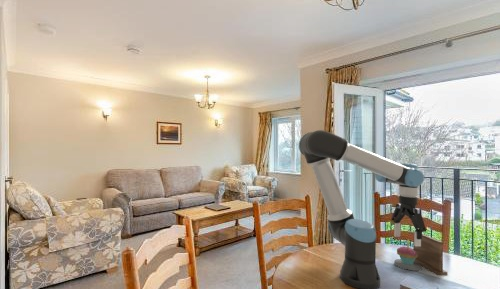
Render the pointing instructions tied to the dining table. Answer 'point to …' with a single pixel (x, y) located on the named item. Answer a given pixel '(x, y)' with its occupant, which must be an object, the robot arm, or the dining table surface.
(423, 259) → the screen
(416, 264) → the plate
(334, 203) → the robot arm
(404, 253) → the cupcake
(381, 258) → the dining table surface
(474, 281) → the dining table surface
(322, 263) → the dining table surface
